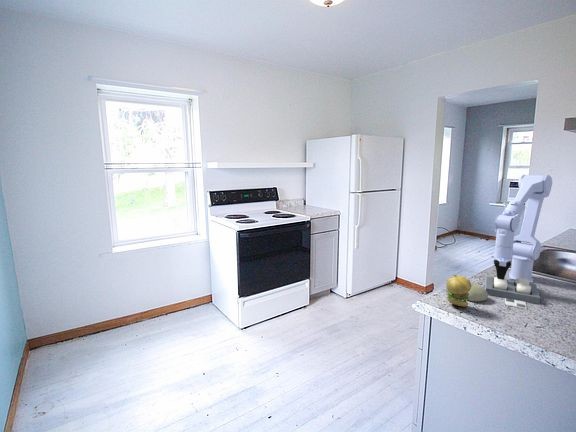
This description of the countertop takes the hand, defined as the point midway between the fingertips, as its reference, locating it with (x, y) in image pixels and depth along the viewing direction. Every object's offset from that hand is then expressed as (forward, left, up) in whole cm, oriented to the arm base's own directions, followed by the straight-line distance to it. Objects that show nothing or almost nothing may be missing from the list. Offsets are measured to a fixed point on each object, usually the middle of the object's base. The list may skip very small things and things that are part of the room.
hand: (500, 278), depth 124 cm
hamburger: (+28, -12, -4) cm, 31 cm away
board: (+3, +4, -3) cm, 6 cm away
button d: (+7, +7, -2) cm, 10 cm away
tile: (+15, +5, -3) cm, 16 cm away
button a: (0, 0, -3) cm, 3 cm away
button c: (0, +7, -2) cm, 7 cm away
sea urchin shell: (+17, -8, -4) cm, 19 cm away
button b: (+7, 0, -2) cm, 7 cm away
